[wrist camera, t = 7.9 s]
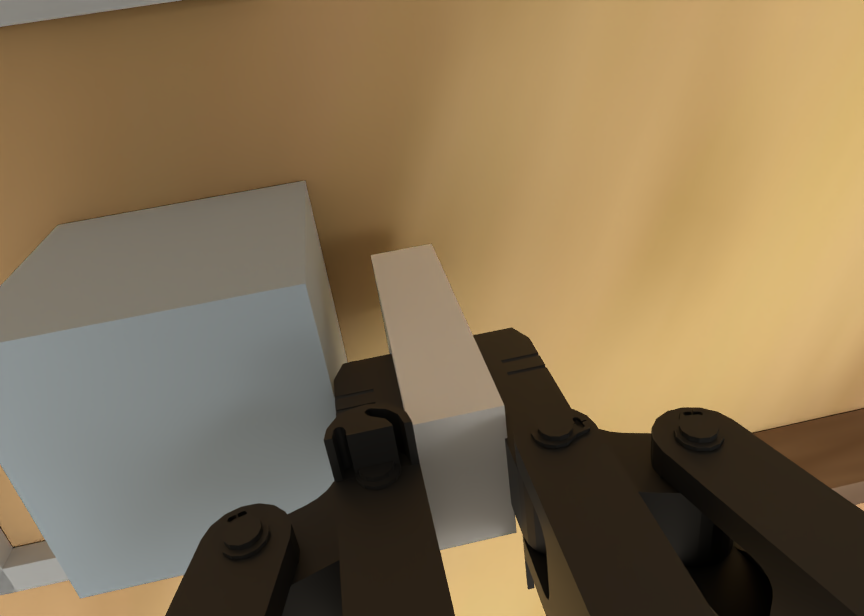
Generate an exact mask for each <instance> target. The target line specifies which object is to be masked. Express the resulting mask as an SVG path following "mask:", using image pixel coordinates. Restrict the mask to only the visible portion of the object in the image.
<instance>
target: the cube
mask: <svg viewBox="0 0 864 616" xmlns="http://www.w3.org/2000/svg"><path fill="white" fill-rule="evenodd" d="M344 363H348V361H347V357H346V353H345V349H344V344H343V340H342V336H341V331H340V327H339V323H338V319H337V314H336V310H335V306H334V301H333V297H332V293H331V289H330V284H329V280H328V276H327V271H326V267H325V263H324V259H323V254H322V250H321V246H320V241H319V237H318V233H317V228H316V224H315V220H314V216H313V211H312V207H311V203H310V198H309V194H308V190H307V186H306V181H300V182H294V183H288V184H283V185H277V186H272V187H266V188H261V189H255V190H249V191H244V192H238V193H233V194H227V195H222V196H216V197H211V198H205V199H199V200H194V201H188V202H183V203H177V204H172V205H166V206H160V207H155V208H149V209H144V210H138V211H133V212H127V213H122V214H116V215H110V216H105V217H99V218H94V219H88V220H83V221H77V222H71V223H66V224H60V225H57V226H56V227H55V228H54V229H53V230H52V232H51V233H50V234H49V235H48V236H47V237H46V238H45V239H44V240H43V241H42V242H41V243H40V244H39V245H38V246H37V247H36V249H35V250H34V251H33V252H32V253H31V254H30V255H29V256H28V257H27V258H26V259H25V260H24V261H23V262H22V263H21V264H20V266H19V267H18V268H17V269H16V270H15V271H14V272H13V273H12V274H11V275H10V276H9V277H8V278H7V279H6V280H5V281H4V283H3V284H2V285H1V286H0V465H1V466H2V468H3V470H4V472H5V473H6V475H7V477H8V478H9V480H10V482H11V483H12V485H13V487H14V488H15V490H16V492H17V493H18V495H19V497H20V498H21V500H22V502H23V503H24V505H25V507H26V508H27V510H28V512H29V513H30V515H31V517H32V518H33V520H34V522H35V523H36V525H37V527H38V529H39V530H40V532H41V534H42V535H43V537H44V539H45V540H46V542H47V544H48V545H49V547H50V549H51V550H52V552H53V554H54V555H55V557H56V559H57V560H58V562H59V564H60V565H61V567H62V569H63V570H64V572H65V574H66V575H67V577H68V579H69V580H70V582H71V584H72V586H73V587H74V589H75V591H76V592H77V594H78V596H79V597H80V598H85V597H89V596H93V595H98V594H102V593H106V592H111V591H115V590H120V589H124V588H128V587H133V586H137V585H141V584H146V583H150V582H155V581H159V580H163V579H168V578H172V577H176V576H181V575H185V572H186V570H187V568H188V566H189V564H190V562H191V560H192V558H193V555H194V553H195V551H196V549H197V547H198V545H199V543H200V540H201V539H202V537H203V536H204V535H205V533H206V532H207V530H208V529H209V527H210V526H211V525H212V524H214V523H215V522H216V521H217V520H218V519H220V518H221V517H222V516H223V515H225V514H227V513H229V512H231V511H233V510H235V509H237V508H239V507H242V506H247V505H252V504H257V503H262V504H270V505H275V506H277V507H279V508H280V509H282V510H284V511H285V512H286V513H287V514H289V513H291V512H293V511H295V510H297V509H299V508H301V507H303V506H305V505H307V504H309V503H310V502H312V501H314V500H316V499H317V498H318V497H320V496H321V495H322V494H323V493H324V492H325V491H327V489H328V488H329V487H330V486H331V484H332V483H333V482H334V477H333V474H332V470H331V466H330V462H329V459H328V455H327V451H326V448H325V444H324V436H325V433H326V429H327V428H328V426H329V425H330V424H331V423H332V422H333V420H334V419H335V418H336V409H335V394H334V379H335V377H336V375H337V373H338V371H339V370H340V368H341V366H342V364H344Z"/></svg>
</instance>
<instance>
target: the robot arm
mask: <svg viewBox="0 0 864 616" xmlns="http://www.w3.org/2000/svg"><path fill="white" fill-rule="evenodd" d="M371 259H372V265H373V270H374V275H375V280H376V285H377V291H378V296H379V301H380V306H381V311H382V317H383V322H384V327H385V332H386V337H387V343H388V348H389V353H390V354H388V355H383V356H378V357H373V358H368V359H364V360H359V361H354V362H349V363H344V364H342V366H341V368H340V370H339V371H338V373H337V375H336V377H335V379H334V394H335V409H336V418H335V419H334V420H333V422H332V423H331V424H330V425H329V426H328V428H327V429H326V433H325V436H324V444H325V448H326V451H327V455H328V459H329V462H330V466H331V470H332V474H333V477H334V482H333V483H332V484H331V486H330V487H329V488H328V489H327V491H325V492H324V493H323V494H322V495H321V496H320V497H318V498H317V499H316V500H314V501H312V502H310V503H309V504H307V505H305V506H303V507H301V508H299V509H297V510H295V511H293V512H291V513H289V514H287V513H286V512H285V511H284V510H282V509H280V508H279V507H277V506H275V505H270V504H262V503H257V504H252V505H247V506H242V507H239V508H237V509H235V510H233V511H231V512H229V513H227V514H225V515H223V516H222V517H221V518H220V519H218V520H217V521H216V522H215V523H214V524H212V525H211V526H210V527H209V529H208V530H207V532H206V533H205V535H204V536H203V537H202V539H201V540H200V543H199V545H198V547H197V549H196V551H195V553H194V555H193V558H192V560H191V562H190V564H189V566H188V568H187V570H186V572H185V575H184V577H183V579H182V581H181V583H180V585H179V587H178V590H177V592H176V594H175V596H174V598H173V600H172V602H171V605H170V607H169V609H168V611H167V613H166V615H165V616H455V614H454V609H453V605H452V601H451V596H450V592H449V588H448V583H447V579H446V575H445V570H444V566H443V562H442V557H441V553H440V550H443V549H447V548H451V547H456V546H460V545H464V544H469V543H473V542H477V541H482V540H486V539H490V538H495V537H499V536H503V535H508V534H512V533H516V521H515V515H516V518H517V521H518V523H519V526H520V529H521V531H522V534H523V543H524V554H525V566H526V577H527V585H528V589H532V588H534V584H535V586H536V589H537V592H538V595H539V597H540V600H541V603H542V605H543V608H544V611H545V614H546V616H864V511H863V510H861V509H860V508H858V507H857V506H856V505H854V504H853V503H851V502H850V501H848V500H847V499H845V498H844V497H843V496H841V495H840V494H838V493H837V492H835V491H834V490H833V489H831V488H830V487H828V486H827V485H825V484H824V483H823V482H821V481H820V480H818V479H817V478H815V477H814V476H813V475H811V474H810V473H808V472H807V471H805V470H804V469H803V468H801V467H800V466H798V465H797V464H795V463H794V462H793V461H791V460H790V459H788V458H787V457H785V456H784V455H783V454H781V453H780V452H778V451H777V450H775V449H774V448H773V447H771V446H770V445H768V444H767V443H765V442H764V441H762V440H761V439H760V438H758V437H757V436H755V435H754V434H752V433H751V432H750V431H748V430H747V429H745V428H744V427H742V426H741V425H740V424H738V423H737V422H735V421H734V420H732V419H730V418H729V417H727V416H725V415H723V414H721V413H719V412H716V411H712V410H708V409H703V408H679V409H675V410H671V411H667V412H666V413H664V414H663V415H661V416H660V417H658V418H657V419H656V421H655V423H654V425H653V427H652V433H617V432H609V431H605V430H601V429H598V427H597V426H596V424H595V423H594V422H593V421H592V420H591V419H590V418H589V417H588V416H587V415H585V414H582V413H580V412H578V411H576V410H574V409H571V407H570V406H569V404H568V402H567V401H566V399H565V397H564V396H563V394H562V392H561V391H560V389H559V387H558V386H557V384H556V382H555V381H554V379H553V377H552V376H551V374H550V372H549V371H548V369H547V368H546V367H545V364H544V362H543V360H542V359H541V357H540V356H538V352H537V350H536V349H535V347H534V345H533V344H532V342H531V340H530V339H529V338H528V337H526V336H525V335H523V334H522V333H520V332H518V331H517V330H515V329H513V328H507V329H502V330H497V331H493V332H488V333H483V334H478V335H472V332H471V330H470V328H469V326H468V323H467V321H466V319H465V317H464V315H463V312H462V310H461V308H460V306H459V303H458V301H457V299H456V297H455V295H454V292H453V290H452V288H451V286H450V283H449V281H448V279H447V277H446V275H445V272H444V270H443V268H442V266H441V263H440V261H439V259H438V257H437V254H436V252H435V250H434V248H433V246H432V244H427V245H421V246H416V247H411V248H405V249H400V250H395V251H390V252H384V253H379V254H374V255H371Z"/></svg>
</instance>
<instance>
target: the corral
mask: <svg viewBox="0 0 864 616" xmlns="http://www.w3.org/2000/svg"><path fill="white" fill-rule="evenodd" d="M174 1H180V0H0V27H3V26H10V25H16V24H23V23H30V22H37V21H44V20H51V19H57V18H64V17H71V16H78V15H85V14H92V13H98V12H105V11H112V10H119V9H126V8H133V7H139V6H146V5H153V4H160V3H167V2H174ZM68 580H69V579H68V577H67V575H66V574H65V572H64V570H63V569H62V567H61V565H60V564H59V562H58V560H57V559H56V557H55V555H54V554H53V552H52V550H51V549H50V547H49V545H48V544H47V542H46V541H43V542H39V543H34V544H29V545H25V546H20V547H15V548H13V547H12V546H11V544H10V543H9V541H8V539H7V538H6V536H5V535H4V533H3V531H2V530H1V528H0V595H4V594H9V593H13V592H18V591H22V590H27V589H31V588H36V587H40V586H45V585H49V584H54V583H59V582H63V581H68Z"/></svg>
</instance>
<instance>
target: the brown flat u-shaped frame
mask: <svg viewBox="0 0 864 616" xmlns="http://www.w3.org/2000/svg"><path fill="white" fill-rule="evenodd" d="M752 434H754V435H755V436H757V437H758V438H760V439H761V440H762V441H764V442H765V443H767V444H768V445H770V446H771V447H773V448H774V449H775V450H777V451H778V452H780V453H781V454H783V455H784V456H785V457H787V458H788V459H790V460H791V461H793V462H794V463H795V464H797V465H798V466H800V467H801V468H803V469H804V470H805V471H807V472H808V473H810V474H811V475H813V476H814V477H815V478H817V479H818V480H820V481H821V482H823V483H824V484H825V485H827V486H828V487H830V488H831V489H833V490H834V491H835V492H837V493H838V494H840V495H841V496H843V497H844V498H845V499H847V500H848V501H850V502H851V503H853V504H854V505H856V504H860V503H864V409H861V410H856V411H852V412H847V413H843V414H838V415H834V416H829V417H825V418H820V419H816V420H811V421H807V422H802V423H798V424H793V425H789V426H784V427H779V428H775V429H770V430H766V431H761V432H757V433H752Z"/></svg>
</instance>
